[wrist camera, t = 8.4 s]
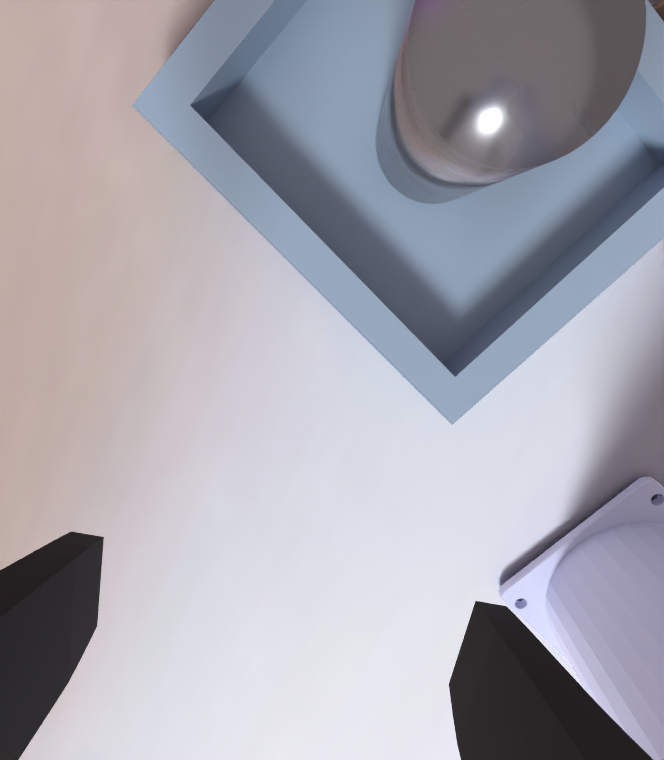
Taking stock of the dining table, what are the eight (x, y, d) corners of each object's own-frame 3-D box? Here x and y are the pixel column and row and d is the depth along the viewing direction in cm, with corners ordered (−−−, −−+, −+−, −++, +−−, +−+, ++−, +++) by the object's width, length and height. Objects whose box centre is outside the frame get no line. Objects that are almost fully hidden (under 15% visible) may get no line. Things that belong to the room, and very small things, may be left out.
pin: (522, 141, 16) (693, 44, 8) (429, 229, 17) (505, 216, 9) (443, 40, 15) (549, -170, 7) (350, 137, 16) (359, 38, 8)
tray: (697, 167, 17) (759, 153, 14) (437, 402, 19) (451, 424, 17) (422, -196, 14) (438, -288, 12) (162, 126, 16) (132, 105, 14)
